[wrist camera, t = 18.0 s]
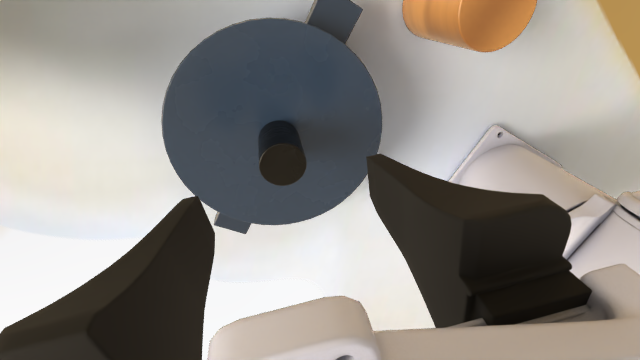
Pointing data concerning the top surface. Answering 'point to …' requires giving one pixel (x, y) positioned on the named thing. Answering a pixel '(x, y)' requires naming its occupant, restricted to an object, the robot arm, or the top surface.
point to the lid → (271, 121)
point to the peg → (469, 21)
